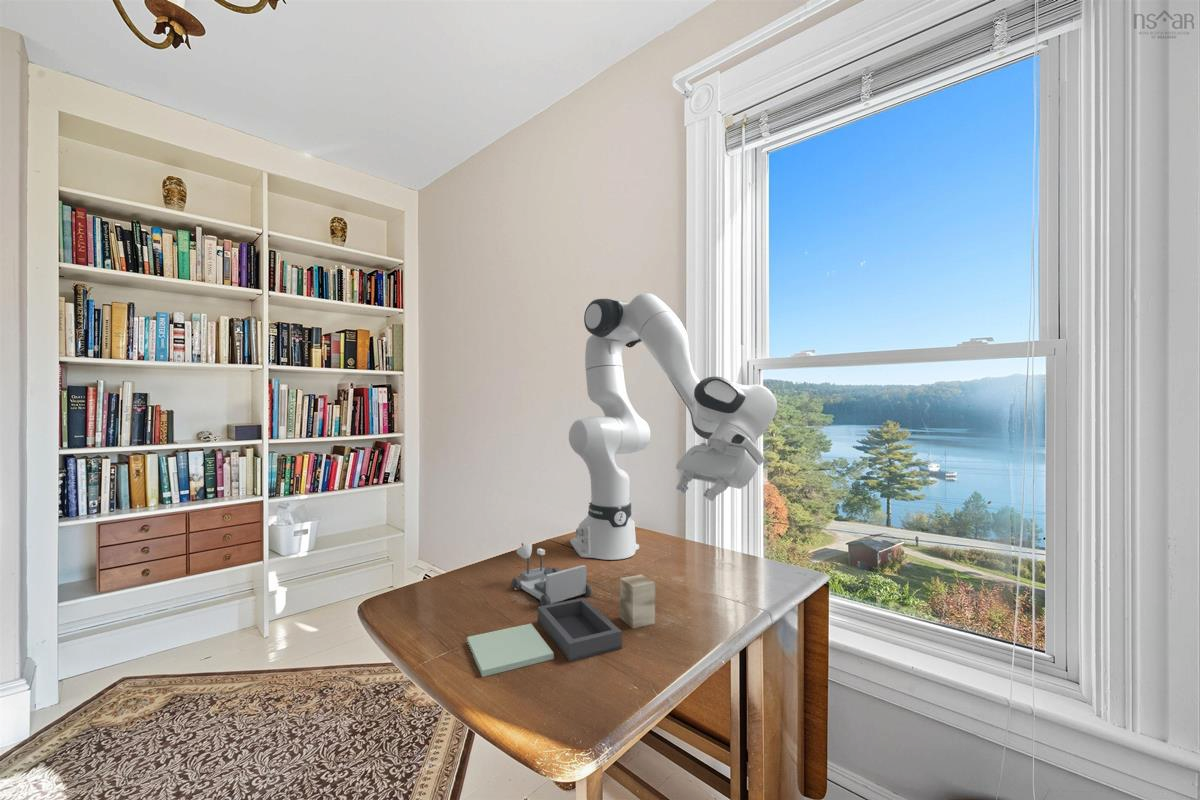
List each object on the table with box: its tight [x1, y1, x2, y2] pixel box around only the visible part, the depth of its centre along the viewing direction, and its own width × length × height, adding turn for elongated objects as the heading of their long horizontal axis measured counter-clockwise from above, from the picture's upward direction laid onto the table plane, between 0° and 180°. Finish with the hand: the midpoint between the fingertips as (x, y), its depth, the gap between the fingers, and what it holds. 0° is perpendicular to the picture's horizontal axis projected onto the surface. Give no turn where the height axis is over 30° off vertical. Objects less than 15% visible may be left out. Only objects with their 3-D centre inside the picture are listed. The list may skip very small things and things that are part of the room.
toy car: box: [511, 542, 592, 606], centre depth 110 cm, size 18×10×12 cm
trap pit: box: [537, 597, 623, 663], centre depth 90 cm, size 16×10×3 cm, turn 27°
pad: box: [466, 622, 555, 678], centre depth 84 cm, size 12×12×1 cm
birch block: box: [619, 573, 656, 630], centre depth 95 cm, size 5×5×8 cm
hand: (692, 494), depth 101 cm, fingers open, 8 cm apart
